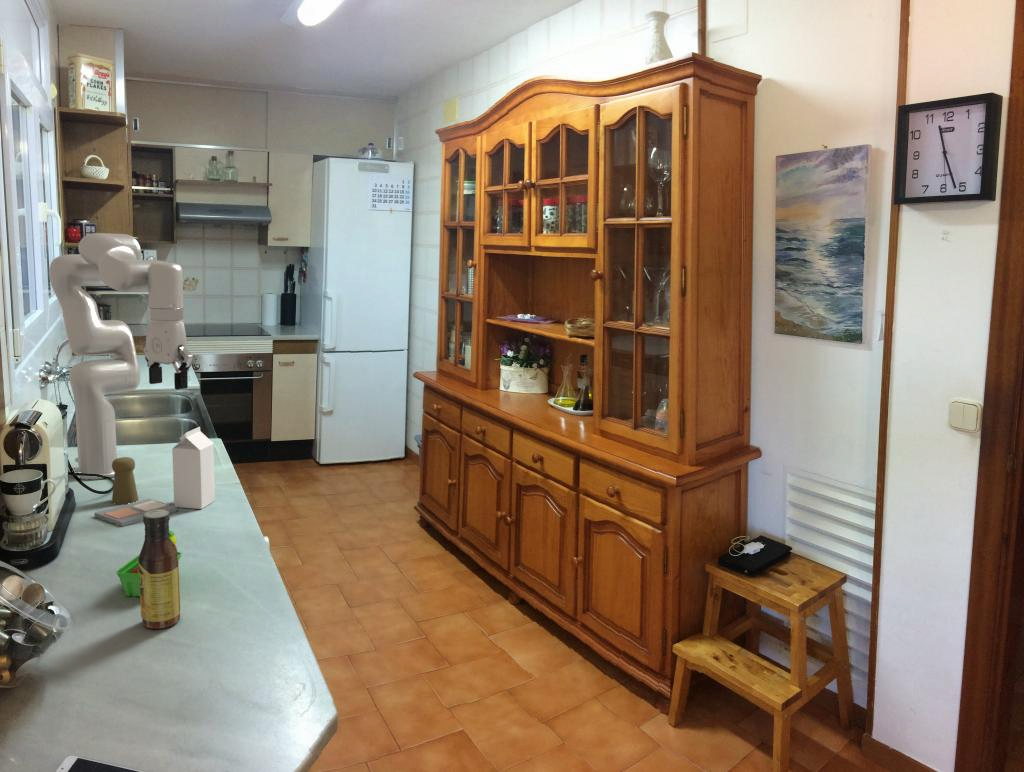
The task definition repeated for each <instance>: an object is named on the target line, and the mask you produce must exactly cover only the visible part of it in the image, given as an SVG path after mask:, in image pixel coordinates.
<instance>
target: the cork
mask: <svg viewBox="0 0 1024 772" xmlns="http://www.w3.org/2000/svg"><path fill="white" fill-rule="evenodd" d="M135 468H136V462H135V460H134V459H133V457H127V456H125V457H117V459H115V460H114V461H113V462H112V469H113V471H114V472H115V475H114V477H113V487H112V497H111V503H112V504H113V503H115V504H114V505H117V504H128V503H133V502H136V501H137V502H138V501H139V497H138V491H137V490H138V489H137V485H136V479H135V474H134V470H135Z"/></svg>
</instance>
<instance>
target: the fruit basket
mask: <svg viewBox="0 0 1024 772" xmlns="http://www.w3.org/2000/svg"><path fill="white" fill-rule="evenodd" d="M169 533H170V536H169V538H170V539H171V541H172V542H173V543H174V544H175V546H176V547H177V537H176V534H175V532H174V531H172V529H171V530H170V529H169ZM177 553H178V563H179V562H180V559H181V557H182V552H181V551H180V552H179V551H177ZM139 555H140V553H139V554H138V555H137V556H134V558H132V559H131V560H130V561H128V562H127V563H126V564H124V565H123V566H121V568H119V569H118V570H116V575H117V577H118V578H119V581H120V583H121V585H122V588H123V591H124V593H125V596H126V595H127V596H126V597H136V596H140V586H139V568H138V558H139ZM179 564H180V563H179ZM130 595H131V596H130Z"/></svg>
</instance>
